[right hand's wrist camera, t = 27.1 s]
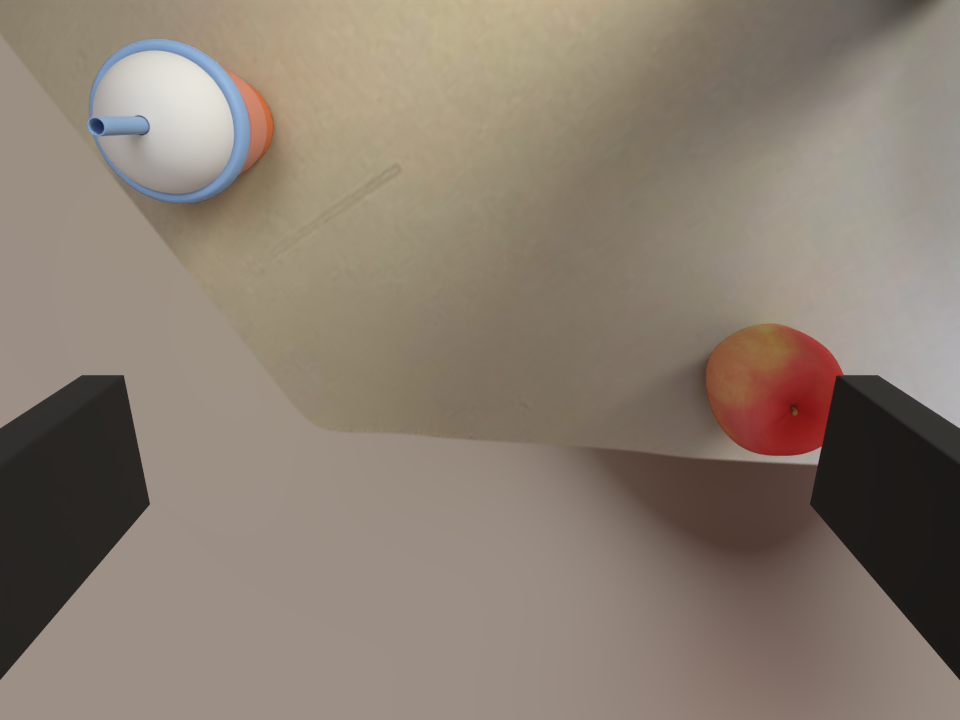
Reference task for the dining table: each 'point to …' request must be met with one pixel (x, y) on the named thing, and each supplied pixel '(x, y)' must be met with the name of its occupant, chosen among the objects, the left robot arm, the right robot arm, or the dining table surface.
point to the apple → (772, 389)
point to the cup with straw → (176, 121)
